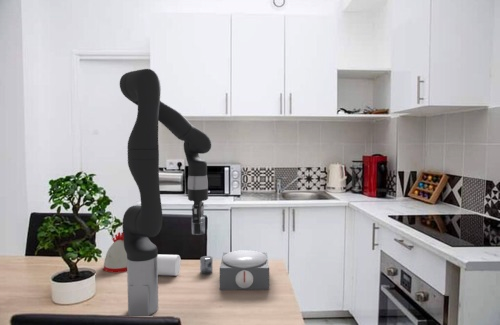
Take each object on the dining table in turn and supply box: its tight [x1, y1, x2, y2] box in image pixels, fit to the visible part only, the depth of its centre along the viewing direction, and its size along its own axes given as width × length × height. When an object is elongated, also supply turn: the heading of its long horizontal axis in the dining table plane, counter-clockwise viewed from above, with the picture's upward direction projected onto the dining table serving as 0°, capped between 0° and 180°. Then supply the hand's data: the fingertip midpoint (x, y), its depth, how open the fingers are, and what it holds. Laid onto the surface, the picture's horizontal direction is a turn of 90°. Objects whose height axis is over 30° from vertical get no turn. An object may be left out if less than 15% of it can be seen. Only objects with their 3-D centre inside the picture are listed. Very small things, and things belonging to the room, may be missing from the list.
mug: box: [158, 254, 182, 277], centre depth 135 cm, size 12×10×8 cm
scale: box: [219, 249, 270, 291], centre depth 126 cm, size 18×18×9 cm
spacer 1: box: [191, 216, 206, 236], centre depth 125 cm, size 5×5×6 cm
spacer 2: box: [199, 255, 214, 276], centre depth 135 cm, size 5×5×6 cm
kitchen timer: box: [103, 231, 127, 273], centre depth 142 cm, size 14×14×15 cm
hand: (198, 231), depth 125 cm, fingers closed on spacer 1, 5 cm apart
